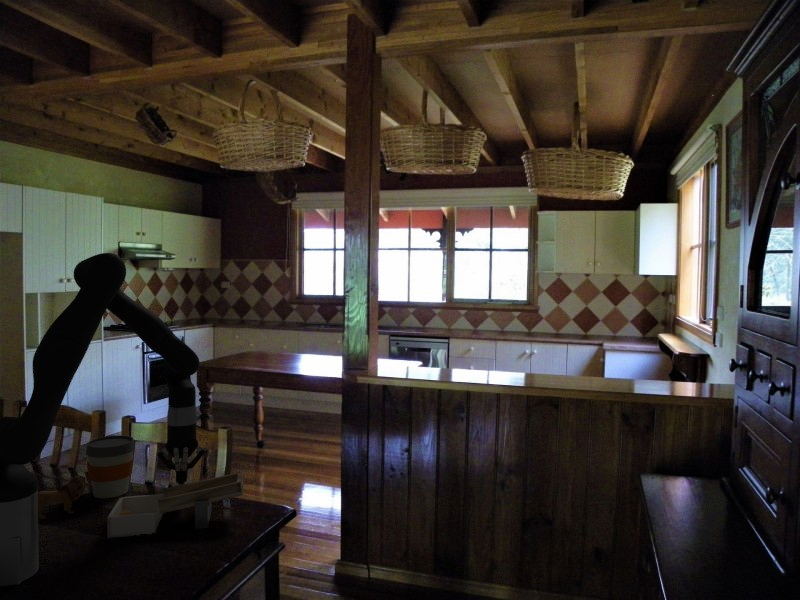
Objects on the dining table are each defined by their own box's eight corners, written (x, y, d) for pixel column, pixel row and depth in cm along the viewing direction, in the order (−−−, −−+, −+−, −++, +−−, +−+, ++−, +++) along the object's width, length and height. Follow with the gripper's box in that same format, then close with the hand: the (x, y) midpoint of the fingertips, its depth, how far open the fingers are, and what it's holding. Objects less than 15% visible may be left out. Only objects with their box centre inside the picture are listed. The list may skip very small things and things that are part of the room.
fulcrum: (207, 528, 138) (207, 500, 138) (194, 529, 137) (195, 501, 137) (211, 509, 149) (211, 484, 149) (200, 510, 148) (200, 484, 148)
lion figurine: (83, 503, 151) (83, 471, 151) (88, 510, 147) (88, 477, 147) (19, 518, 142) (19, 484, 141) (22, 525, 138) (22, 490, 137)
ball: (114, 522, 136) (126, 528, 137) (121, 511, 137) (133, 516, 138) (117, 517, 140) (129, 522, 140) (124, 506, 140) (136, 511, 141)
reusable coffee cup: (90, 487, 163) (90, 437, 163) (136, 482, 168) (136, 433, 167) (82, 503, 152) (81, 449, 151) (132, 497, 156) (132, 445, 155)
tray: (154, 533, 134) (154, 513, 134) (107, 538, 132) (107, 517, 132) (163, 512, 147) (163, 493, 147) (120, 515, 144) (120, 497, 144)
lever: (242, 497, 141) (240, 483, 141) (160, 516, 136) (157, 501, 136) (245, 474, 158) (242, 461, 158) (171, 489, 153) (169, 476, 153)
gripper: (153, 426, 146) (153, 490, 147) (205, 423, 149) (205, 486, 150) (158, 419, 153) (158, 480, 154) (208, 417, 157) (208, 477, 157)
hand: (181, 483), depth 152 cm, fingers closed
